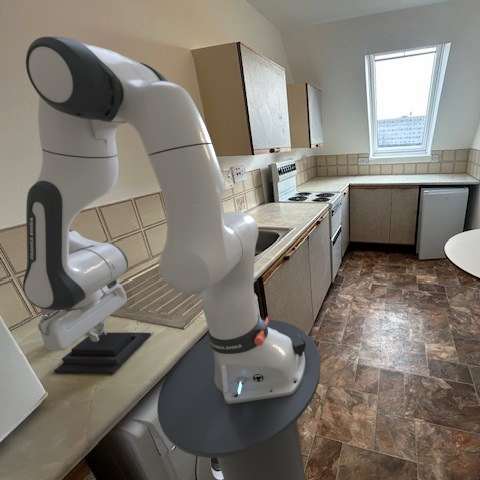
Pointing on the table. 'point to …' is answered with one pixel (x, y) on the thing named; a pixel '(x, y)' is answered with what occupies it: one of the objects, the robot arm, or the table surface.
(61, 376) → the table surface
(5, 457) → the table surface
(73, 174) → the robot arm
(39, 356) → the table surface
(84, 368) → the base pad
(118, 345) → the black pad
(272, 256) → the table surface
